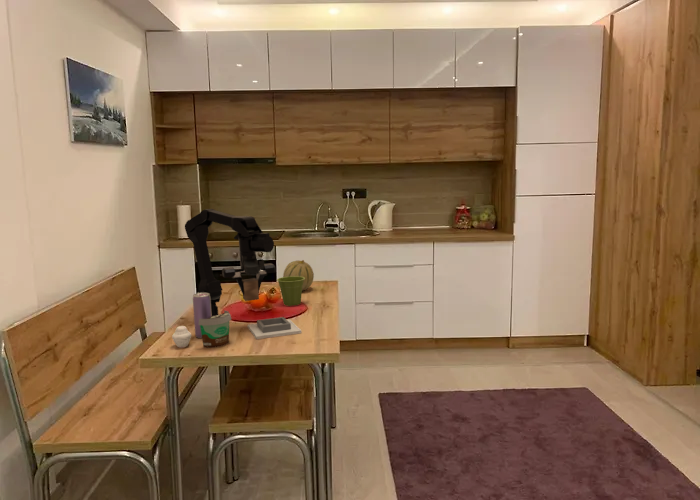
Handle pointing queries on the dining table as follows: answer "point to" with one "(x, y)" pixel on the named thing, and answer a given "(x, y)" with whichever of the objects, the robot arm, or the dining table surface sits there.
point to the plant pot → (291, 289)
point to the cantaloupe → (300, 272)
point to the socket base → (273, 328)
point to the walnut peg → (250, 289)
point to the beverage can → (201, 310)
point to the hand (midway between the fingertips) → (250, 293)
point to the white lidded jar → (181, 336)
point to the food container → (215, 330)
